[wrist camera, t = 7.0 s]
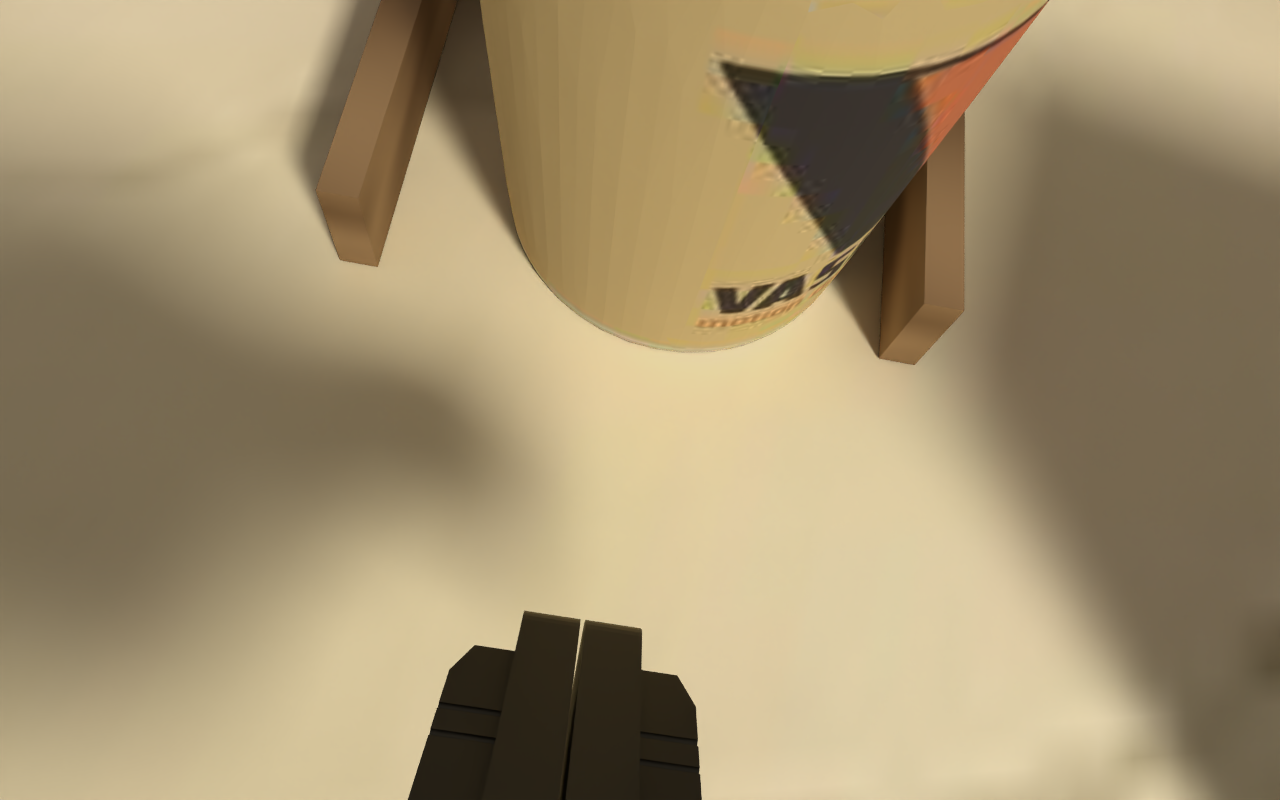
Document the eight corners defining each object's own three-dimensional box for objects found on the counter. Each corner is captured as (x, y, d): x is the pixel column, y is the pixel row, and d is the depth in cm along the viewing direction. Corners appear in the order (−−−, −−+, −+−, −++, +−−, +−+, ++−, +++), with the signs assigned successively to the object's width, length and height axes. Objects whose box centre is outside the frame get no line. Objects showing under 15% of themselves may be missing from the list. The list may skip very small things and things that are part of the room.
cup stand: (914, 364, 20) (964, 310, 18) (340, 259, 20) (315, 190, 17) (922, 45, 24) (964, -34, 22) (439, -52, 23) (430, -143, 21)
